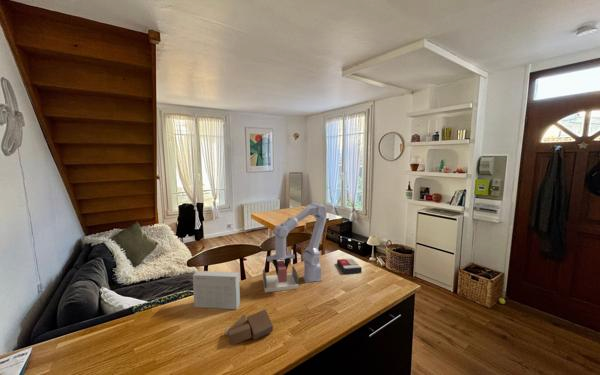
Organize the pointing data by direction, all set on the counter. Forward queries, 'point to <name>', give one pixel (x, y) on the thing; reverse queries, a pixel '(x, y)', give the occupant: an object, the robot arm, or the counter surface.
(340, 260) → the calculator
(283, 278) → the burgundy book
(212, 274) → the skincare box
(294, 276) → the grey open rack
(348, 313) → the counter surface
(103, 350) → the counter surface
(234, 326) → the wooden block
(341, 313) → the counter surface
